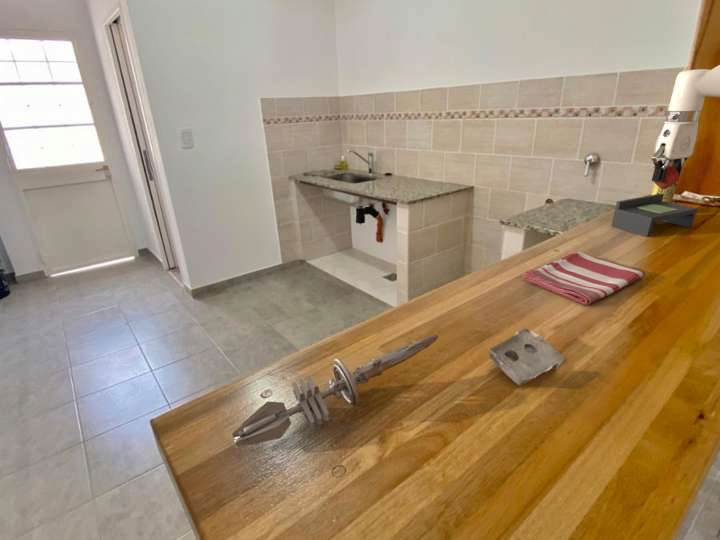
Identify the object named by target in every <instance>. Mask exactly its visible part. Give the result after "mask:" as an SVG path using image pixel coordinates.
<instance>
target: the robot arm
mask: <svg viewBox="0 0 720 540" xmlns="http://www.w3.org/2000/svg"><path fill="white" fill-rule="evenodd" d="M706 97H711V98H712V97H713V98H714V97H715V98H720V64H719V65H717V66H715V67H713V68H712V69H707V68H699V69H687V70H682V71H680V72H678V73H677V75H676V78H675V82H674V85H673V90H672V93H671V98H670V101H669V104H668V108H667V113H666V116H665V120H664V125H663V127H662V129H661V132H660V135H659V138H658V141H657V143H656V147H655V152H654V154H653V155H652V156H651V160H652V162H653V168H654V169H653V174H652V177H651V182H654V183H655V182H660V183H662V182H664V178H665V174H666V171H667V169H665V168H666V166H667V164H668V162H669V160H672V164H673V166H672V167H674V168H675V169H676V170H677V172H678V180H679V179H680V176H681V173H682V169H683V167H685V162H687V160H688V158H690V157H691V156H692V155H693V153H694V149H695V145H696V141H697V137H698V136H697V135H698V131H699V119H700V116H701V114H702V113H701V112H702V109H703V106H704V103H705V100H706Z"/></svg>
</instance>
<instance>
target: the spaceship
mask: <svg viewBox="0 0 720 540" xmlns="http://www.w3.org/2000/svg"><path fill="white" fill-rule="evenodd" d="M438 338H439V336H438V335H437V334H433V335H430V336H429V335H428V336H427V337H424V338H420V339H419V340H416V341H415V342H414V343H413V342H412V343H411V344H408V345H405V346H402V347H399V348H397V349H394V350H392V351H390V352H388V353H386V354H384V355H382V356H380V357H377V358H375V359H374V358H373V359H372V360H370V362H369V363H368V364H366V365H364V366H363V365H359V366H357V367H356V368H354V371H353V372H351V371H350V370H349V369H348V367H347V366H346V365H345V364H344V362H342V360H340V359H339V358H335V359H333V361H332V372H333V376H334V378H330V379H329V380H328V385H329V387H327V388H326V389H323V390H321V389H320V388H319V386H318V385H316V384H315V382H314V381H313V380H312V378H311V376H310V375H307V376H305V379H306V381H307V382H305V381H304V379H303V378H300V379H298V382H299V384H300V386H298V385H297V383H296V382H295V381H293V382H292V383H291V386H292V388H293V389H292V392H293V394H294V398H295V399H296V401H295V404H292V405H291V406H289V407H287V408H286V405H285V403H284V402H283V401H282V402H281V401H266V402H265V403H263V404H262V405H261V406H260V407H259V408H258V409H257V410H255V411H254V412H253V413H252V414H251V415H250V416H249V417H247V418H246V419H245V420H244V421H242V423H241V425H240V426H238V428H237V429H236V430H234V431H233V432H232V434H231V435H232V438H234V443H235V445H236V447H242V446H247V445H250V446H251V445H257V444H260V443H265V442H271V441H273V440H279V439H282V438H283V436H284V435H285V433H286V432H287V431H288V430H289V427H290V426H291V425H292V421H291V419H290V417H292V416H294V415H296V414H301V415H302V416H303V415H304V416H303V417H304V418H305V420H306V422H307V424H308V426H309V428H310V429H311V430H313V429H315V428H316V426H315V424H314V422H316V423H317V425H318V426H320V425H322V424H323V422H322V420H321V419H322V418H323V420H324V421H325V422H328V421H329V420H330V418H329V416H328V415H330V412H329V410H328V407H327V405H326V403H325V401H324V400H325V399H326V398H328V397H330V396H332V395H333V396H334V397H336V398H337V399H341V398H342V397H343V398H344V399H345V401H346V402H347V403H348V404H349V405H350V406H351V407H353V408H354V409H358V408H359V407H360V404H361V400H360V395H359V390H358V386H357V385H359V384H367V383H369V381H370V379H372V378H375V377H379V376H381V375H382V374H383V372H385V371H387V370H389V369H392V368H393V367H395V366H397V365H400V364H401V363H404V362H405V361H407V360H409V359H411V358H412V357H414V356H416V355H417V354H418V353H420V352H422V351H424V350H425V349H428V348H429V347H431V345H432V344H434V343H435V342H436V341H437V340H438ZM281 437H282V438H281Z"/></svg>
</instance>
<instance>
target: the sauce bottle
mask: <svg viewBox="0 0 720 540" xmlns="http://www.w3.org/2000/svg"><path fill="white" fill-rule="evenodd" d="M669 163H672V160H669V162H668V164H669ZM668 164H667V165H668ZM672 166H673V165H672ZM678 184H679V179H678V180H677V181H676V182H675V184H673V185H672V186H670V187H668V188H666V189H661V188H660V187H658V186H657V185H656V184H655V183H654V185H653V188H652V191H651V194H650V195H655V194H660V193H661V194H664V196H663V200H662V201H664V202H669V203H672V201H673V198H674V195H675V193H676V190H677V186H678Z"/></svg>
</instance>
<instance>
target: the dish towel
mask: <svg viewBox="0 0 720 540" xmlns="http://www.w3.org/2000/svg"><path fill="white" fill-rule="evenodd" d="M643 277H645V272H644V271H643V270H640V269H636V268H633V267H629V266H625V265H621V264H619V263H615V262H613V261H610V260H605V259H602V258H597V257H595V256H592V255H590V254H587V253H584V252H582V251H577V252H574V253H569V254H568V255H566V256H564V257H562V258H559V259H558V260H554V261H552V262H548V263H547V264H546V263H545V264H544V265H543V266H541V267H539V268H537V269H534V270H531V269H528V270H525V271H524V276H523V278H522V280H523V281H524V282H525V281H526V282H528V283H529V284H533V285H535V286H537V287H540V288H541V289H545V290H547V291H549V292H552V293H554V294H557V295H559V296H562V297H565V298H567V299H569V300H572V301H574V302H577V303H579V304H582V305H584V306H588V305H591V304H593V303H594V302H597V301H598V300H601V299H603V298H606V297H607V296H609V295H611V294H614V293H615V292H617V291H619V290H621V289H622V288H624V287H626V286H628V285H632V284H633V283H634V282H636V281H638V280H639V279H641V278H643Z"/></svg>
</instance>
